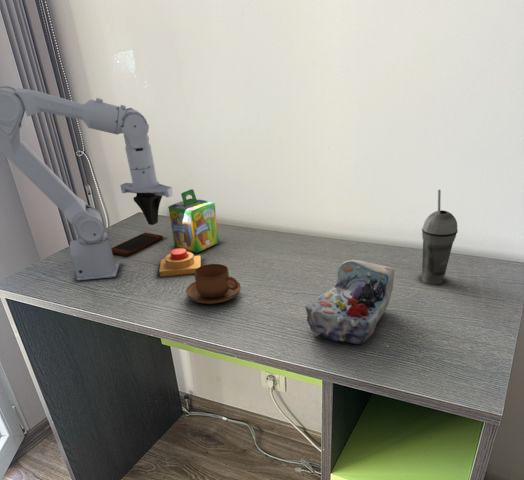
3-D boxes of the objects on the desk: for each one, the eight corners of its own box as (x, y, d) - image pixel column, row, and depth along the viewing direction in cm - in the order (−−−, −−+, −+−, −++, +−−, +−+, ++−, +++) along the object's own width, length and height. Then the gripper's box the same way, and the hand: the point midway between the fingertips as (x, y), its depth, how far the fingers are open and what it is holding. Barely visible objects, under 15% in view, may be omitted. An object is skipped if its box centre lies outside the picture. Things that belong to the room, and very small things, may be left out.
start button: (171, 261, 121) (169, 255, 120) (171, 255, 124) (170, 249, 123) (187, 260, 121) (186, 253, 120) (187, 254, 125) (186, 247, 124)
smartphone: (163, 235, 142) (126, 253, 132) (163, 238, 143) (127, 256, 132) (145, 231, 146) (107, 249, 135) (145, 234, 146) (108, 252, 136)
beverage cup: (451, 287, 107) (466, 195, 96) (416, 286, 109) (428, 195, 98) (447, 273, 113) (462, 184, 102) (414, 272, 115) (425, 185, 104)
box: (160, 276, 121) (157, 264, 119) (162, 264, 127) (160, 252, 126) (201, 272, 121) (199, 260, 120) (200, 260, 128) (199, 248, 126)
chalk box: (197, 254, 132) (190, 198, 124) (173, 247, 137) (164, 193, 128) (220, 243, 138) (214, 189, 130) (196, 237, 143) (189, 185, 134)
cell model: (402, 258, 95) (371, 305, 81) (397, 306, 101) (367, 359, 87) (338, 249, 101) (298, 292, 86) (336, 295, 107) (299, 343, 92)
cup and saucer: (244, 284, 115) (242, 259, 111) (237, 308, 105) (235, 282, 101) (193, 284, 116) (189, 260, 112) (182, 309, 106) (177, 282, 102)
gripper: (177, 163, 115) (186, 220, 122) (129, 161, 121) (141, 215, 129) (157, 171, 110) (168, 230, 117) (109, 168, 116) (122, 224, 124)
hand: (153, 223), depth 123 cm, fingers closed
